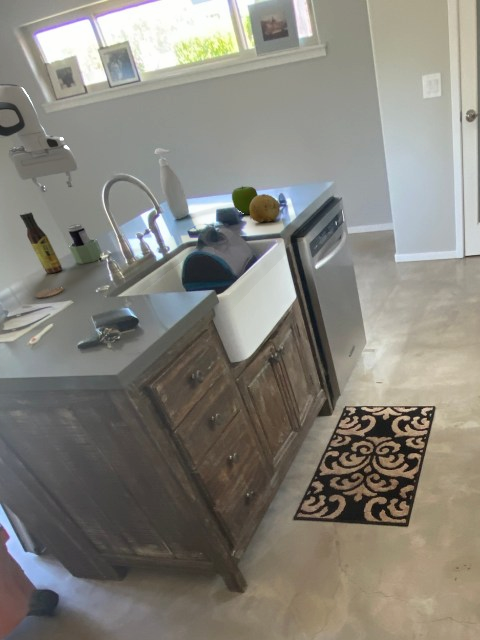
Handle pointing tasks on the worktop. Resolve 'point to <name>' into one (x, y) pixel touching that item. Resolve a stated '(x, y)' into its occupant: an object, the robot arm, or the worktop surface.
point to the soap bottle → (172, 188)
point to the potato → (264, 208)
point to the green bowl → (86, 252)
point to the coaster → (49, 292)
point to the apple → (243, 198)
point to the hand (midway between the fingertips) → (58, 189)
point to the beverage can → (79, 235)
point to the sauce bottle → (41, 244)
